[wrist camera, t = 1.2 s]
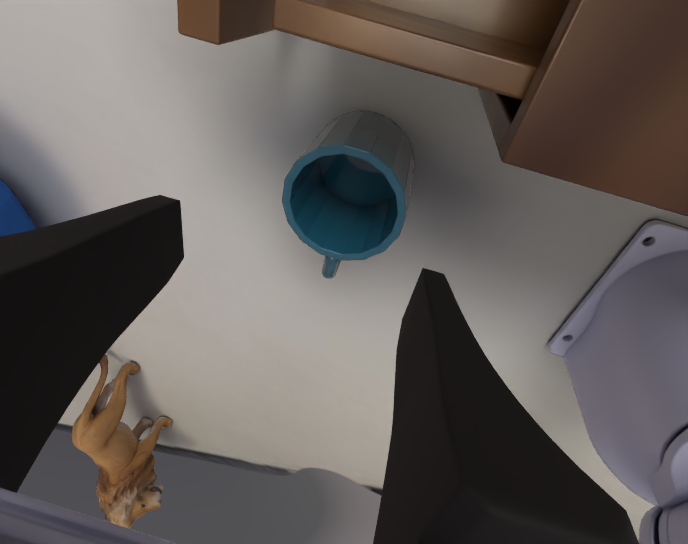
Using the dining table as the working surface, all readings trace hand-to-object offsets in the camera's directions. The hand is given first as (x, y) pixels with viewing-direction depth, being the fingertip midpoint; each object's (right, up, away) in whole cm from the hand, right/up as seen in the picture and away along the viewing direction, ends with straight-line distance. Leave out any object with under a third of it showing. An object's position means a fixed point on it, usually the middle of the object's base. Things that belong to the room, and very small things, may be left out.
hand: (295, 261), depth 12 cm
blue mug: (+2, +5, +9) cm, 10 cm away
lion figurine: (-17, -13, +27) cm, 35 cm away
